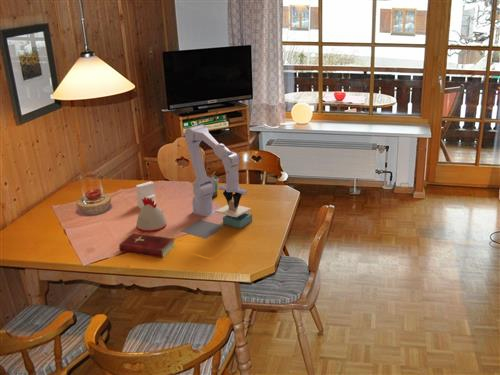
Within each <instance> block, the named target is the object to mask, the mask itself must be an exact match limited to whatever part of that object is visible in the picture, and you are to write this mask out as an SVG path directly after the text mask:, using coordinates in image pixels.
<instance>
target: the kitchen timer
mask: <svg viewBox="0 0 500 375" xmlns="http://www.w3.org/2000/svg"><path fill="white" fill-rule="evenodd" d="M142 201H143V204H144V207H143V208H142V209H140V211H139V213H138V216H137V220H136V230H137V231H138V232H140V233H141V234H145V233H155V232H159V231H162V230H164V229H165V228H166V227H167V225H168V224H167V220H166V219H167V218H166V217H165V214H164V211H163V210H162V209H161V208H160V207H159V206H158V205H157V203H156V204H154V201H152V199H151V198H150V200H149V197H148V198H147V199H146V197H144V199H142Z"/></svg>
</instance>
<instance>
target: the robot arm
mask: <svg viewBox="0 0 500 375" xmlns="http://www.w3.org/2000/svg"><path fill="white" fill-rule="evenodd" d="M209 131H210V130H209V128H208V127H207V126H206V125H205V124H202V123H201V124H199V125H195V126H192V127H187V128H186V129H185V130H184V133H183V135H184V139H185V142H186V146H187V149H188V154H189V157H190V160H191V164H192V168H193V173H194V175H195V179H194V181H193V183H192V188H193V195H194V196H193V198H192V214H194V215H195V214H196V215H198V216H204V217H209V216H211V215H212V214H214V213H216V212H215V210H216V209H213V199H212V195H213V193H214V192H215V186H214V184H213V182H212V179H211V178H209V177H210V176H208V174H207V172H206V168H205V164H204V160H203V156H202V153H201V149H200V144H201V142H202V141H203V142H204V143H205V144H207V145H208V146H209V147H211V148H212V149H213V153H214V154H215V155H216V156H217V158H219V159H220V160H221V161H222V165H223V167H224V171H225V183H226V184H220V185H219V186H218V191H221V190H222V191H223V193H222V195H223V197H224V198H225V200H226V203H227V205H228V206H229V200H231V199H234V207H235V208H237V207H238V205H239V206H240V204H239V203H240V201H241V198H242V196H246V195H247V194H248V192H247V191H248V190H246V189H243V188H242V187H240V186H239V185H240V184H239V182H240V181H239V165H240V164H241V157H240V155H239V154H238V152H234V151H231V150H230V148H228V147H226V145H225V144H224V143H219V142H218V141H217V140H216V139H215V137H213V135H211V133H210V132H209Z"/></svg>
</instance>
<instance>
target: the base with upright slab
mask: <svg viewBox="0 0 500 375" xmlns="http://www.w3.org/2000/svg"><path fill="white" fill-rule="evenodd" d="M155 191H156V190H155V182H153V181H151V180H150V181H146V182H144V183H140V184H136V195H137V197H136V198H137V206H138V208H139V209H140V210H141V209H142V208H143V207H144V204H143V201H142V199H144V197H146V199H147V198H148V197H149V200H150V198H151V199H152V201H154V204H157V202H156V193H155Z"/></svg>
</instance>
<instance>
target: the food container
mask: <svg viewBox="0 0 500 375" xmlns="http://www.w3.org/2000/svg"><path fill="white" fill-rule="evenodd" d="M208 177H209V178H211V179H212V182H213V184H214V186H215V192H214V193H213V195H212V200H213V199H216V198H217V197H218V191H219V186H218V185H219V184H220V181H219V180H220V179H219V177H218V176H217V175H215V174H210V175H209V176H208Z"/></svg>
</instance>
